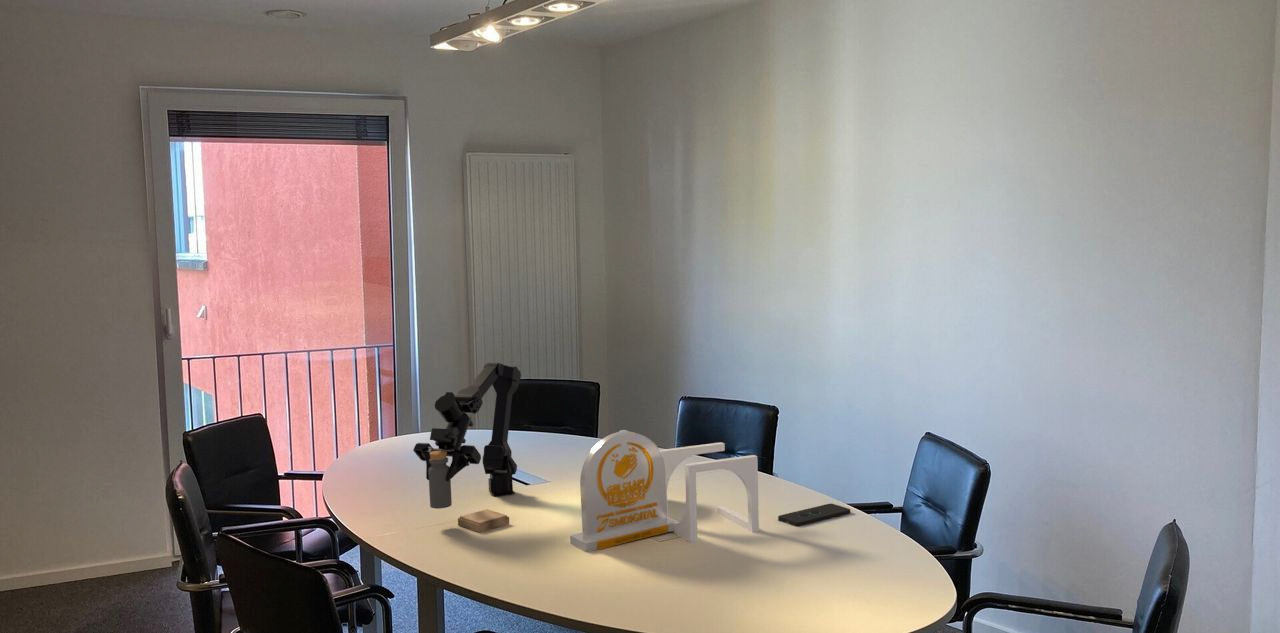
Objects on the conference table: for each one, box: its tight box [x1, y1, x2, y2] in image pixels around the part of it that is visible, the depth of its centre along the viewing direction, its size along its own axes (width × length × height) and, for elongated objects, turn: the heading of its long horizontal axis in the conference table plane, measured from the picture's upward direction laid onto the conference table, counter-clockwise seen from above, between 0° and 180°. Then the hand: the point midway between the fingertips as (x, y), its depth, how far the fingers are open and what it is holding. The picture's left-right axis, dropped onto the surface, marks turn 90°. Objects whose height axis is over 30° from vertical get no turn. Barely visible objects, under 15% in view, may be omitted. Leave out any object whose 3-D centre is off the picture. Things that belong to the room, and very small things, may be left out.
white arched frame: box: [659, 441, 760, 543], centre depth 266 cm, size 20×20×20 cm
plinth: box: [457, 508, 510, 533], centre depth 274 cm, size 10×10×2 cm
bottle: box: [428, 450, 453, 510], centre depth 274 cm, size 6×6×15 cm
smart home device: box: [777, 503, 851, 527], centre depth 273 cm, size 8×2×20 cm
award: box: [569, 430, 680, 553], centre depth 258 cm, size 28×9×28 cm, turn 122°
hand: (437, 479), depth 272 cm, fingers closed on bottle, 6 cm apart
